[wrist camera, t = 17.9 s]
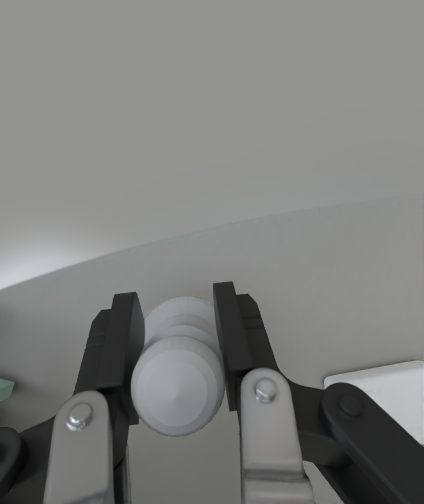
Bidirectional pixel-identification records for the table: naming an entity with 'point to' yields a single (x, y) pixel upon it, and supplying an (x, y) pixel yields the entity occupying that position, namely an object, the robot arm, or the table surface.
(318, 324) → the table surface
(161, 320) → the chess piece
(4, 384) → the drawer
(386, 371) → the soap
